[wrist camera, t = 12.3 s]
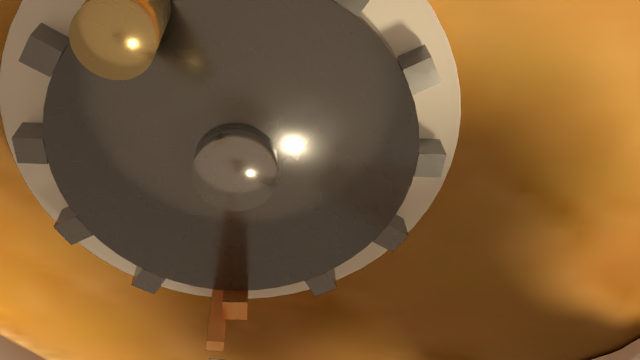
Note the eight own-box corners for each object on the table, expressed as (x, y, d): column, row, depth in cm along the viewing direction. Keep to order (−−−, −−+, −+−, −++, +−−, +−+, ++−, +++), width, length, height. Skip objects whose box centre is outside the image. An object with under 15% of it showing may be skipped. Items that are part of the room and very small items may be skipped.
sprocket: (136, -190, 22) (102, -178, 18) (526, 88, 30) (571, 146, 25) (-37, 194, 31) (-89, 266, 27) (295, 332, 39) (298, 407, 35)
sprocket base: (517, -62, 28) (564, -27, 23) (394, 296, 40) (409, 363, 36) (-20, -159, 24) (-87, -141, 20) (32, 266, 37) (-2, 336, 32)
